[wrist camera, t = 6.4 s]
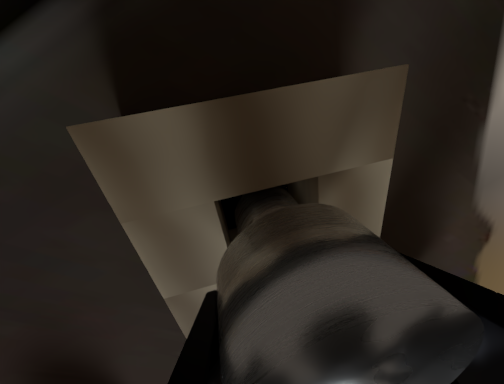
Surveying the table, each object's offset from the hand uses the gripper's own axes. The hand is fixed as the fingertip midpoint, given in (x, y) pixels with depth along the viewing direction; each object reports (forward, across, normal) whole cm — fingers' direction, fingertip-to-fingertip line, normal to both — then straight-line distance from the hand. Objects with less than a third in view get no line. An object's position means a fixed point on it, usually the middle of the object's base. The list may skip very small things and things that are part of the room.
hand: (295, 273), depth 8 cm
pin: (+5, 0, 0) cm, 5 cm away
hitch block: (+8, 0, 0) cm, 8 cm away
